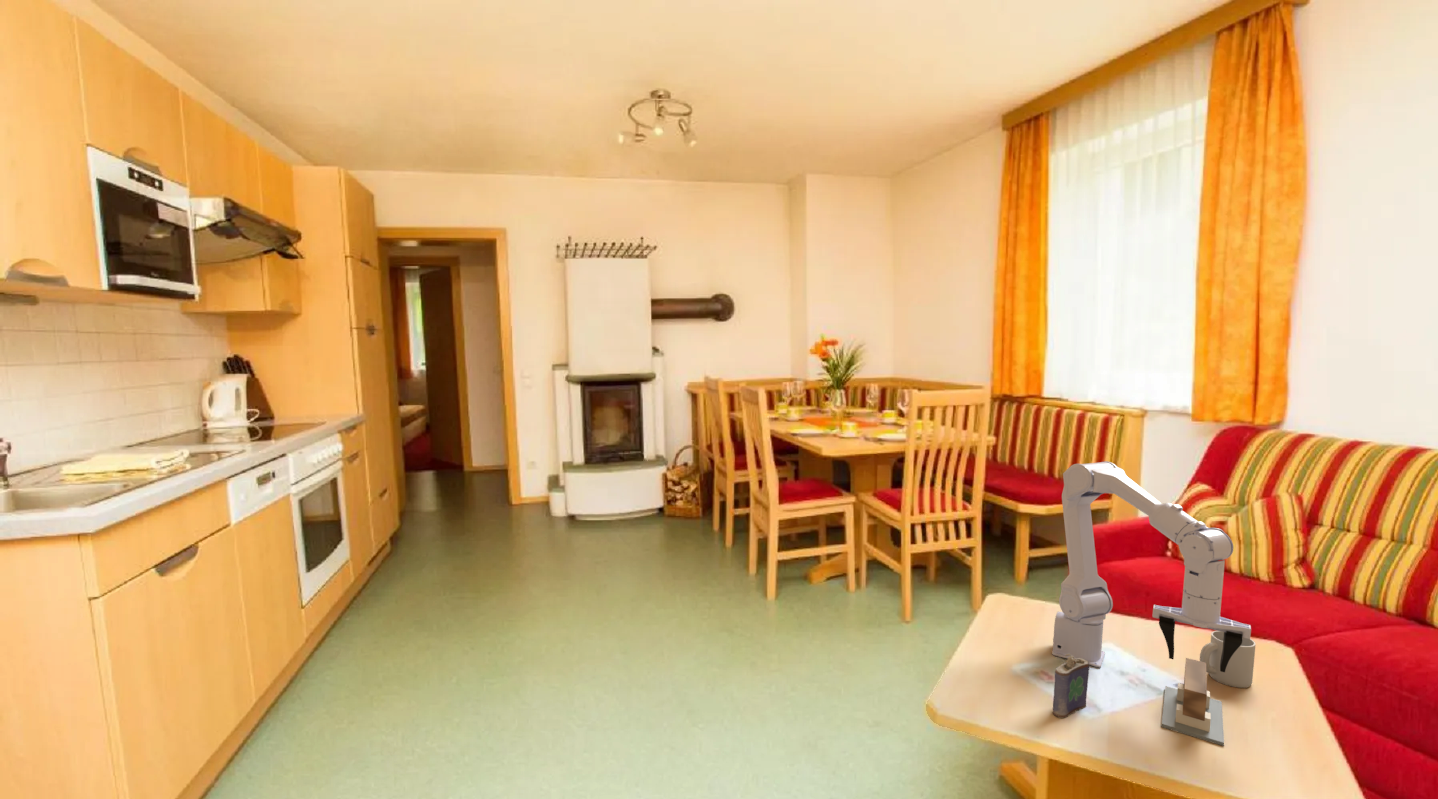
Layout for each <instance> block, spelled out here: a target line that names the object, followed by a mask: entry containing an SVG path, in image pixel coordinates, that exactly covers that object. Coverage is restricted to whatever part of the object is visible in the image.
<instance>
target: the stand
mask: <svg viewBox="0 0 1438 799" xmlns="http://www.w3.org/2000/svg"><path fill="white" fill-rule="evenodd" d="M1183 694H1184V683H1180V682H1177V688H1174V687H1171V686H1167V685H1165V688H1164V696H1163V706H1162V707H1163V709H1162V717H1161V728H1164V729H1167V730H1171V731H1174V732H1177V733H1181V734H1183V735H1186V736H1189V737H1190V736H1191V737H1194V738H1196V739H1200V740H1203V741H1206V742H1210V743H1213V744H1215V745H1216V744H1217V745H1219V746H1225V735H1224V734H1225V733H1224V718H1223V716H1224V715H1223V704H1222V703H1223V702H1222V701H1221V700H1218V699H1215V698H1211V692H1210V691H1209V690H1207V698H1206V710H1205V721H1202V720H1199V719H1195V718H1192V717H1189V716H1185V715H1183Z"/></svg>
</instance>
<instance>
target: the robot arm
mask: <svg viewBox="0 0 1438 799" xmlns="http://www.w3.org/2000/svg"><path fill="white" fill-rule="evenodd" d="M1062 476H1063V478H1062V479H1063V489H1062V493H1061V503H1062V513H1063V520H1064V521H1063V522H1064V523H1063V524H1064V531H1065V532H1064V533H1065V541H1066V542H1065V543H1066V551H1067V562H1068V570H1069V571H1068V572H1069V574H1068V575H1067V577H1065V579H1064V580H1063V581H1062V582H1061V583H1060V589H1061V592H1060V595H1059V597H1058V600H1059V601H1058V603H1059V607H1060V611H1056V614H1055V618H1054V625H1053V638H1052V640H1053V642H1052V653H1051V654H1052V655H1053V656H1054V657H1055V656H1056V657H1060V658H1064V659H1066V660H1067V659H1068V656H1066V654H1071V655H1073V657H1074V659H1075V658H1076V659H1077V658H1082V659H1084V660H1087V661H1088V662H1089V666H1093V667H1095V668H1101V667H1102V664H1103V662H1104V658H1105V654H1106V653H1105V651H1103V650H1102V648H1103V646H1102V645H1103V633H1104V632H1103V630H1104V620H1106V615H1108V614H1110V612H1112V610H1113V607H1114V603H1113V597H1112V596H1111V594H1110V592H1109V589H1108V584H1107V582H1106V580H1104V579H1103V578H1102V577H1100V576H1099V573H1098V565H1097V555H1096V554H1097V553H1096V547H1095V537H1094V528H1093V520H1092V519H1093V518H1092V509H1091V504H1092V503H1093V502H1095V500H1096V499H1098V498H1099V497H1100V496H1101V495H1103V494H1114V495H1116V496H1117V497H1119V498H1120V499H1122V500H1123V501H1125V502H1126V503H1128V504H1130V505H1131V506H1133V507H1134V508H1135V509H1137V510H1138V511H1140V512H1142V513H1143V514H1145V515H1146V516H1148V521H1149V524H1150V526H1152V527H1153V528H1154V529H1156V530H1157V531H1158V532H1159V533H1161V534H1162V535H1164V536H1165V537H1166V538H1168V539H1170V541H1172V542H1173V543H1174V544H1176V545H1178V549H1179V551H1180V554H1181V555H1182V557H1183V565H1184V575H1183V586H1182V587H1183V588H1182V599H1181V607H1172V606H1164V605H1163V606H1162V605H1157V604H1153V608H1152V618H1154V619H1159V620H1158V626H1159V628H1160V629H1161V632H1162V634H1163V637H1164V641H1165V642H1166V645H1167V646H1166V647H1167V650H1168V659H1171V660H1174V659H1175V658H1174V656H1175V630H1176V628H1175V627H1176V622H1177V623H1181V624H1186V625H1191V626H1194V627H1198V628H1202V629H1209V630H1214V631H1222V632H1224V638H1223V650H1222V655H1221V661H1220V671H1221V672H1225V670H1226V667H1227V664H1228V662H1229V660H1230V658H1231V657H1232V655H1233V654H1234V652H1235V651H1236V650H1237V649H1238V648H1239V647H1240V646H1241V644H1242V637H1243V638H1247V639H1251V636H1252V635H1251V634H1252V626H1251V624H1247V623H1242V622H1239V621H1237V620H1234V619H1233V620H1232V619H1229V618H1226V617H1223V616H1221V608H1222V598H1223V587H1224V575H1225V574H1224V573H1225V563H1226V562H1225V561H1226V559H1228V558H1230V557H1231V556H1232V555H1233V552H1234V543H1233V541H1232V539H1231V538H1230V536H1229V535H1228V534H1227V533H1226V532H1225V531H1224V530H1223V529H1222V528H1217V527H1208V526H1207V525H1206V523H1205V522H1203V521H1201V520H1200V521H1198V520H1197V519H1195V518H1194V517H1192V515H1190V514H1188V513H1187V512H1186V511H1184V510H1183V509H1184V508H1183V506H1182V505H1180V504H1178V503H1176V504H1175V503H1171V502H1165V503H1162V502H1160V501H1159V499H1156V498H1155V497H1154V496H1153V495H1152V494H1150V493H1149V492H1148V491H1146V490H1145V489H1144V488H1143V487H1141V486H1140V485H1139V484H1138V483H1136V482H1135V481H1134V480H1132V479H1131V478H1130V477H1128V476H1127V474H1126V472H1125V470H1124V469H1123V468H1121V467H1118V466H1117V465H1116V464H1115V463H1113V462H1111V461H1108V460H1105V461H1101V462H1089V463H1074V464H1072V465H1071V466H1069V467H1067V469H1066V470H1065V471H1064V472H1063V473H1062ZM1071 655H1069V656H1071ZM1065 656H1066V657H1065Z"/></svg>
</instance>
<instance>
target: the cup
mask: <svg viewBox="0 0 1438 799" xmlns="http://www.w3.org/2000/svg"><path fill="white" fill-rule="evenodd" d="M1223 638H1224V632H1222V631H1217V630H1214V631H1211V635H1210V642H1208V643H1206V644H1205V645H1203V646H1202V648H1201V649H1200V653H1199V661H1201V662H1205V663H1206V674H1208V675H1209V676H1210V677H1211V679H1213V680H1214V681H1216V682H1218V683H1220V684H1223V685H1226V686H1228V687H1231V688H1232V687H1233V688H1238V689H1239V688H1240V689H1246V688H1249V687H1251V685H1252V683H1253V678H1254V669H1255V668H1254V667H1255V666H1254V665H1255V655H1256V645H1257V644H1256V642H1255V641H1254V640H1253V639H1252V638H1250V639H1247V638H1243V637H1242V644H1241V646H1240V647H1239V648H1238V649H1237V650H1236V651H1235V652H1234V654H1233V655H1232V657H1231V658H1230V660H1229V662H1228V664H1227V667H1226V670H1225V672H1221V671H1220V661H1221V655H1222V650H1223Z"/></svg>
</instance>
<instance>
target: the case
mask: <svg viewBox="0 0 1438 799" xmlns="http://www.w3.org/2000/svg"><path fill="white" fill-rule="evenodd" d="M1183 676H1184V677H1183V684H1184V694H1183V715H1185V716H1189V717H1192V718H1195V719H1199V720H1202V721H1205V710H1206V698H1207V691H1208V690H1207V688H1208V687H1207V685H1208V684H1207V672H1206V663H1205V662H1201V661H1200V660H1198V659H1193V658H1189V657H1185V667H1184V675H1183Z"/></svg>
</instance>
